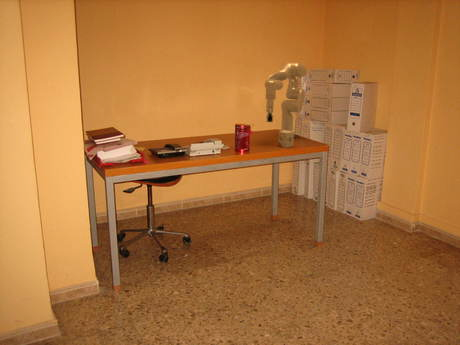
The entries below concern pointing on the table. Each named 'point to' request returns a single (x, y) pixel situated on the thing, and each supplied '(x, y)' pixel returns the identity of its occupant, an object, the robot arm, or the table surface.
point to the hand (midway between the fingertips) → (269, 120)
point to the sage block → (267, 118)
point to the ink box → (286, 138)
